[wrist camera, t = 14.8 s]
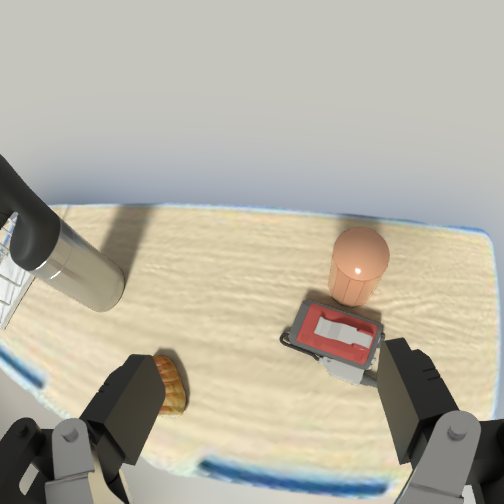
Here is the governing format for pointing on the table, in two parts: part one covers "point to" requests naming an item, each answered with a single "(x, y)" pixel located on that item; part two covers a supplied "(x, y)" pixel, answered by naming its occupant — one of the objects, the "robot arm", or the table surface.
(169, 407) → the pastry
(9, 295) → the file sorter
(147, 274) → the table surface
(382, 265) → the cup
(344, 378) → the walkie-talkie
